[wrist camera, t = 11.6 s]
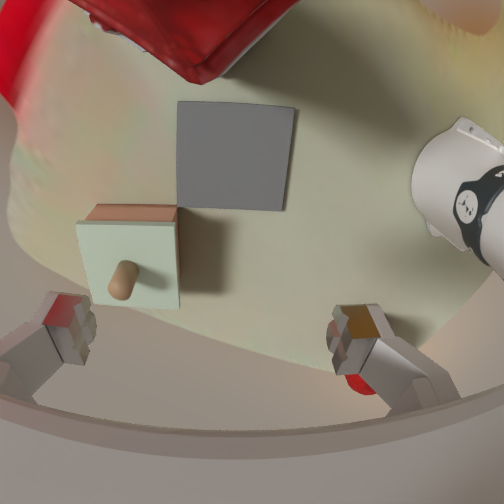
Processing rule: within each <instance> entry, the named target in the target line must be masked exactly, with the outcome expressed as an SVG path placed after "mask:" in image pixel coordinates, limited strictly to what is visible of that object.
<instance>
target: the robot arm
mask: <svg viewBox="0 0 504 504" xmlns="http://www.w3.org/2000/svg"><path fill="white" fill-rule="evenodd" d="M470 128H471V130H470ZM412 196H413V200H414V203H415V205H416V207H417V209H418V210H419V212H420V213H421V214H422V215H423V217H424V218H425V220H426V224H427V228H428V231H429V233H430V234H431V235H432V236H434V237H440V236H444V237H445V238H446V239H447V240H448V241H450V242H451V243H452V244H453V245H454V246H455V247H457V248H458V249H459V250H461V251H465V250H470V251H471V252H472V254H473V255H474V256H475V257H476V258H478V259H479V260H480V261H482V262H483V263H484V264H485V265H487V266H491V267H492V268H493V269H494V271H495V272H496V273H497V274H498V275H499V276H500V277H501V278H502V279H503V281H504V145H503V144H502V143H500V142H499V141H498V140H497V139H495V138H494V137H493V136H491V135H490V134H489V133H487V132H486V131H485V130H483V129H482V128H481V127H479V126H478V125H477V124H475V123H474V122H472V121H471V120H469V119H468V118H466V117H461V118H460V119H459V120H458V121H457V122H456V123H455V124H454V125H453V126H452V128H451V129H449V130H448V131H446V132H443V133H441V134H439V135H438V136H436V137H435V138H433V139H432V140H431V141H430V142H429V143H428V144H427V145H426V146H425V147H424V149H423V150H422V152H421V153H420V155H419V157H418V159H417V161H416V164H415V167H414V170H413V175H412ZM90 306H91V302H90V299H89V297H88V296H86V295H80V294H72V293H64V292H53V291H50V292H48V293H46V295H45V297H44V298H43V300H42V302H41V303H40V305H39V307H38V308H37V310H36V312H35V314H34V315H33V317H32V319H31V320H30V322H25V323H24V324H22V325H21V326H19V327H18V328H16V329H15V330H13V331H12V332H10V333H9V334H8V335H6V336H4V337H3V338H1V339H0V504H504V384H502V385H500V386H497V387H494V388H491V389H489V390H486V391H483V392H480V393H477V394H474V395H471V396H468V397H464V398H461V397H460V395H459V393H458V391H457V389H456V387H455V385H454V383H453V381H452V379H451V377H450V375H449V373H448V372H447V371H446V370H445V369H444V368H442V367H441V366H439V365H438V364H437V363H435V362H434V361H433V360H431V359H430V358H428V357H427V356H426V355H424V354H423V353H421V352H420V351H419V350H417V349H416V348H415V347H413V346H412V345H410V344H409V343H408V342H406V341H405V340H403V339H402V338H401V337H399V336H397V337H395V335H394V333H393V331H392V329H391V327H390V325H389V323H388V321H387V319H386V317H385V315H384V313H383V311H382V309H381V307H380V306H379V305H378V304H355V305H336V306H335V307H334V310H333V313H332V315H333V318H334V320H332V321H331V322H330V323H329V325H328V328H327V335H326V340H327V346H328V350H329V351H331V352H332V353H333V354H334V355H333V358H332V363H333V366H334V370H335V373H336V375H350V374H359V376H360V377H361V378H362V379H363V380H364V381H365V382H366V383H367V384H368V385H369V386H370V387H371V388H372V389H373V390H374V391H375V392H376V393H377V394H378V395H379V396H380V397H381V398H382V399H383V400H384V401H385V402H386V403H387V404H388V405H389V406H390V407H391V408H392V409H391V410H390V411H389V413H388V414H387V415H386V416H385V417H383V418H377V419H372V420H365V421H359V422H352V423H345V424H337V425H329V426H319V427H309V428H298V429H297V428H296V429H280V430H251V431H250V430H248V431H228V430H226V431H224V430H223V431H222V430H196V429H180V428H168V427H157V426H148V425H139V424H131V423H124V422H118V421H111V420H106V419H100V418H94V417H89V416H84V415H79V414H75V413H69V412H65V411H61V410H57V409H53V408H49V407H45V406H41V405H38V404H37V403H36V401H35V400H34V399H33V397H32V395H33V394H34V393H35V392H36V391H37V390H38V389H39V388H40V387H41V386H42V385H43V383H45V382H46V381H47V380H48V379H49V378H50V377H51V376H52V375H53V374H54V373H55V372H56V371H57V370H58V369H59V368H60V367H61V366H62V365H63V363H68V364H76V365H83V366H85V364H86V361H87V358H88V355H89V352H90V350H89V347H88V345H89V344H90V343H92V342H93V341H94V338H95V335H96V328H97V325H96V318H95V315H94V314H93V313H92V312H91V311H90V310H89V309H90Z"/></svg>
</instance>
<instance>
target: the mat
mask: <svg viewBox="0 0 504 504" xmlns="http://www.w3.org/2000/svg"><path fill="white" fill-rule="evenodd" d="M294 110H295V108H291V107H282V106H272V105H260V104H247V103H230V102H200V101H178V103H177V149H176V178H177V207H193V208H220V209H243V210H263V211H282V204H283V197H284V189H285V182H286V174H287V166H288V159H289V151H290V143H291V135H292V127H293V118H294Z"/></svg>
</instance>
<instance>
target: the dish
mask: <svg viewBox="0 0 504 504" xmlns="http://www.w3.org/2000/svg"><path fill="white" fill-rule="evenodd" d="M85 220H87V221H148V222H175V223H176V246H177V264H178V279H179V281H180V257H179V234H178V207H177V205H154V204H97V205H96V206H95V208H94V209H93V210H92V211H91V213H90V214H89V215H88V216H87V218H86V219H85Z"/></svg>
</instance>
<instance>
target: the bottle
mask: <svg viewBox="0 0 504 504" xmlns="http://www.w3.org/2000/svg"><path fill="white" fill-rule="evenodd" d="M69 1H71V2H72V3H74V4H76V5H77V6H79V7H81V8H82V9H83V10H84V13H85V14H86V15H87V16H89V17H90V20H91V23H92V25H94V26H95V27H97V28H98V29H100V30H101V31H103V32H106V33H110V34H115V35H118V36H120V37H121V38H122V39H124V40H125V41H127V42H128V43H130V44H131V45H133V46H134V47H136V48H137V49H138V50H140V51H141V52H149V53H150V54H151V55H153V56H154V57H156V58H157V59H158V60H160V61H161V62H162V63H164V64H165V65H166V66H168V67H169V68H171V69H172V70H173V71H174V72H176V73H177V74H178V75H180V76H181V77H182V78H184V79H185V80H186V81H188V82H190V83H194V84H199V85H203V84H205V83H207V82H210V81H212V80H214V79H216V78H219V77H221V76H223V75H225V74H226V73H227V72H228V71H229V70H230V69H231V68H232V67H233V66H234V65H235V64H236V63H237V62H238V61H239V60H240V59H241V58H242V57H243V56H244V55H245V54H246V53H247V52H248V51H249V50H250V49H251V48H252V47H253V46H254V45H255V44H256V43H257V42H258V41H259V40H260V39H261V38H262V37H263V36H264V35H266V34H267V33H268V32H269V31H270V30H271V29H272V28H273V27H274V26H275V25H276V24H277V23H278V22H279V21H280V20H281V19H282V18H283V17H284V16H285V15H286V14H287V13H288V12H289V11H290V10H291V9H292V8H293V7H294V6H295V5H296V4H297V3H298V2H299V1H300V0H69Z"/></svg>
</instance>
